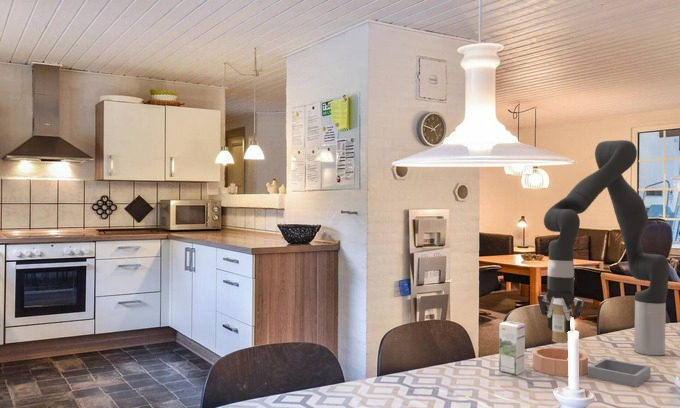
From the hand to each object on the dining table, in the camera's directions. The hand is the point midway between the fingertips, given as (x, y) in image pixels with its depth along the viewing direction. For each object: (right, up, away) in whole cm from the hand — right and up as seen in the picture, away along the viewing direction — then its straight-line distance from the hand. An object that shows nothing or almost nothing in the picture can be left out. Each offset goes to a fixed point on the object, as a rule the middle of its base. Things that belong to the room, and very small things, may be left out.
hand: (560, 330), depth 179 cm
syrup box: (-16, -12, -3) cm, 20 cm away
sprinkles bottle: (0, -3, 0) cm, 3 cm away
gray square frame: (+14, -12, -8) cm, 20 cm away
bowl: (0, -11, 0) cm, 11 cm away
